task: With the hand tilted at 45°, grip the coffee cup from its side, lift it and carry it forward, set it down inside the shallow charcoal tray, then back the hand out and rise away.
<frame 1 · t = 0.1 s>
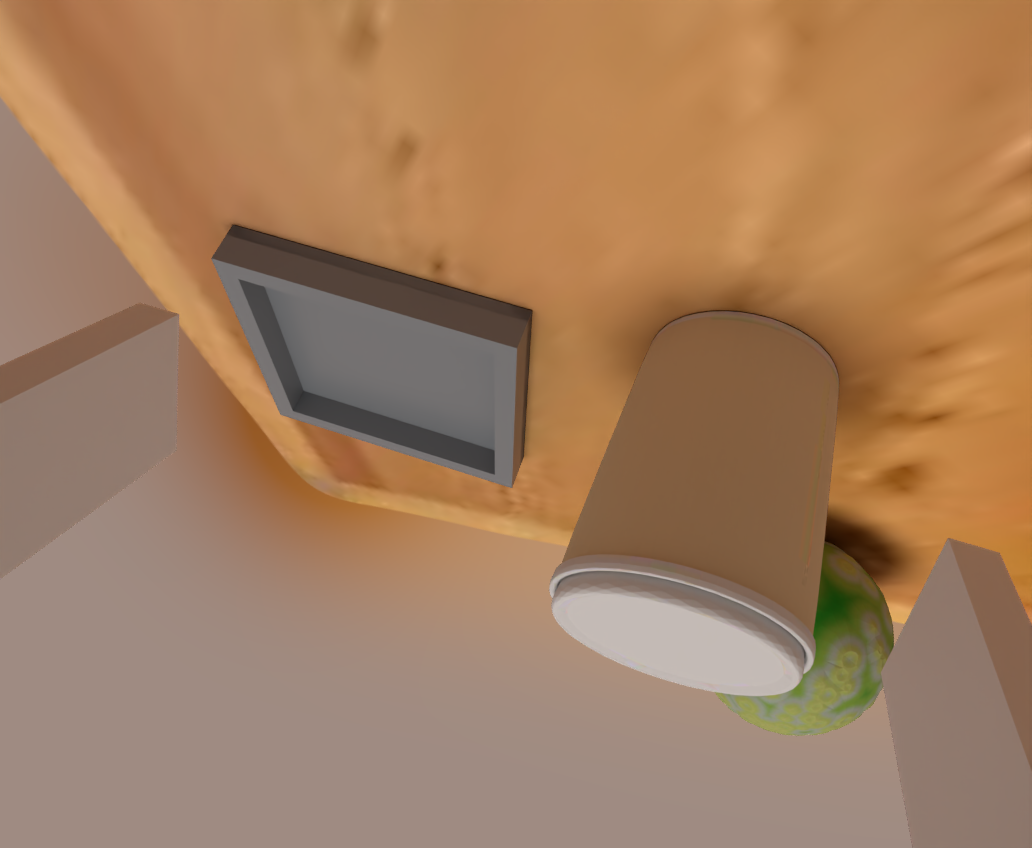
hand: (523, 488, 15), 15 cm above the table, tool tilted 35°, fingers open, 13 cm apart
decorative ball: (806, 541, 48), on the table
coffee cup: (742, 366, 36), on the table
tray: (395, 354, 45), on the table
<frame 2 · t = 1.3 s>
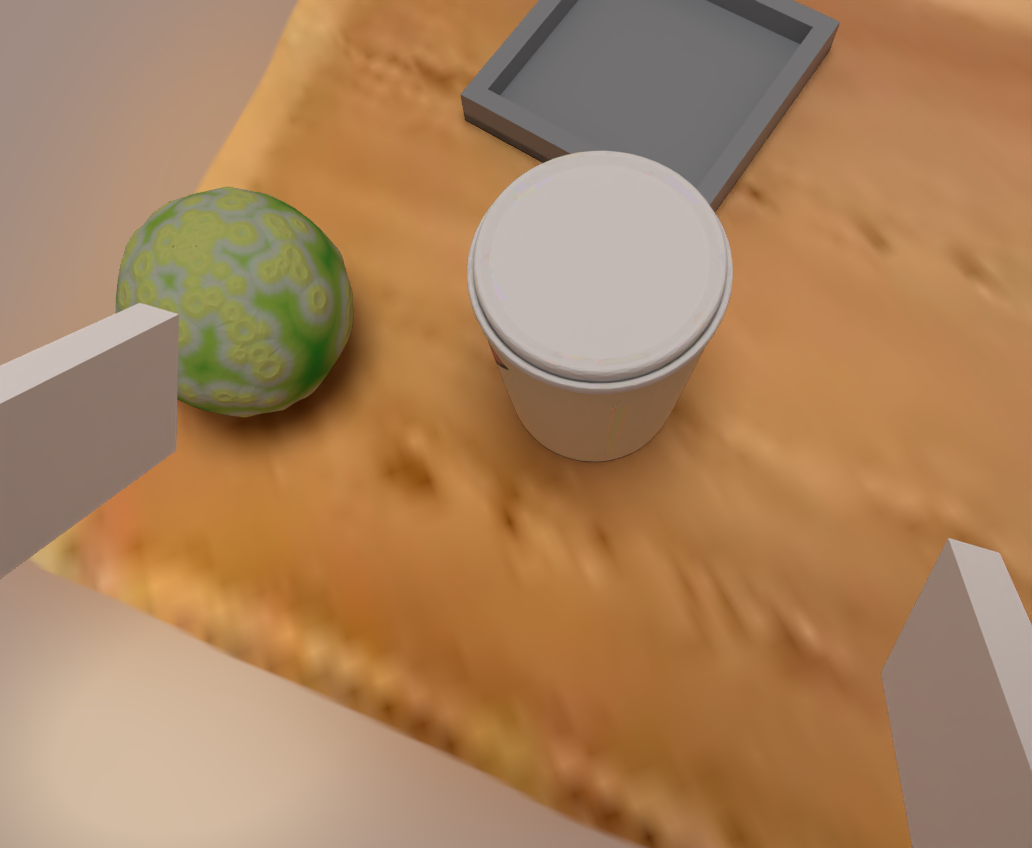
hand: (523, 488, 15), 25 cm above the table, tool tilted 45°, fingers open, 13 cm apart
decorative ball: (276, 351, 44), on the table
coffee cup: (592, 386, 42), on the table
tray: (647, 85, 47), on the table
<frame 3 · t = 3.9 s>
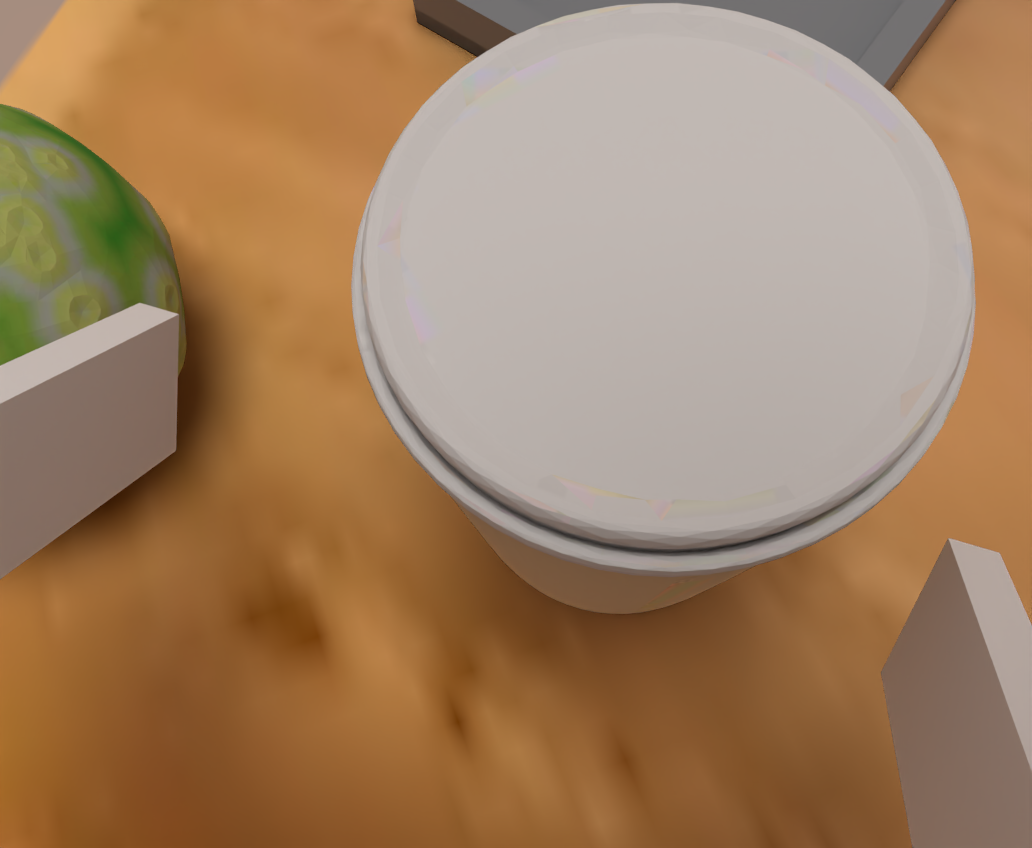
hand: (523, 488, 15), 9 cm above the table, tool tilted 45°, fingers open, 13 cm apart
decorative ball: (77, 391, 26), on the table
coffee cup: (613, 473, 24), on the table
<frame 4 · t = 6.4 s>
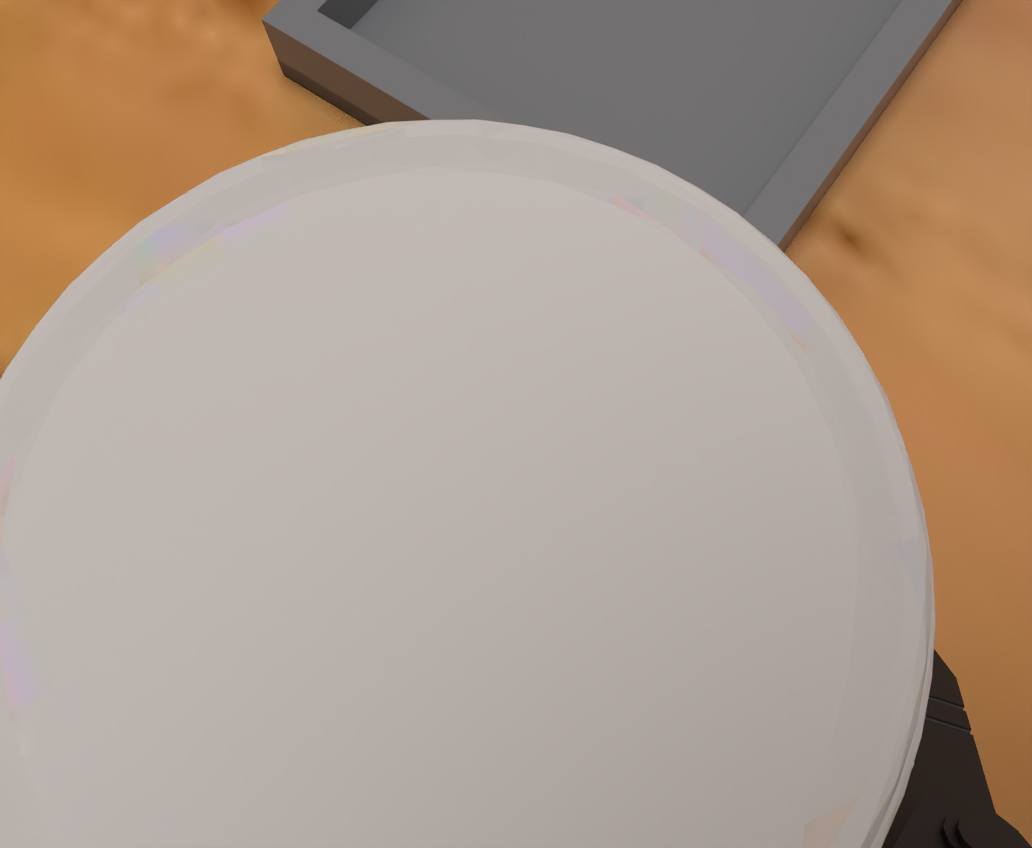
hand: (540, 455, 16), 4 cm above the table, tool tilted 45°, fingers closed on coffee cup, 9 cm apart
coffee cup: (499, 654, 19), on the table, touching gripper
tray: (637, 19, 25), on the table
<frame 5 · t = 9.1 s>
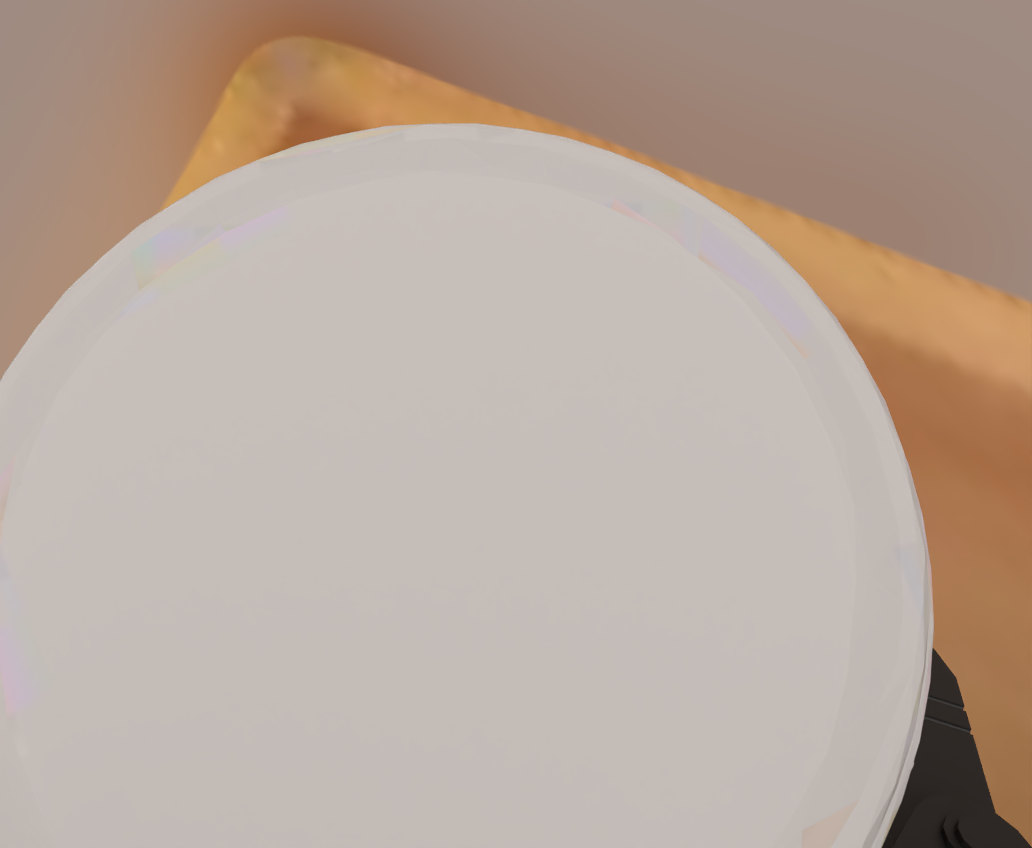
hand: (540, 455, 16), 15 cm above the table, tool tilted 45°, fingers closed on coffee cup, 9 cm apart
coffee cup: (498, 656, 19), point 11 cm above the table, touching gripper
when the fingers open (7 cm above the table, at t = 12.2 s): coffee cup drops 2 cm, resting on tray.
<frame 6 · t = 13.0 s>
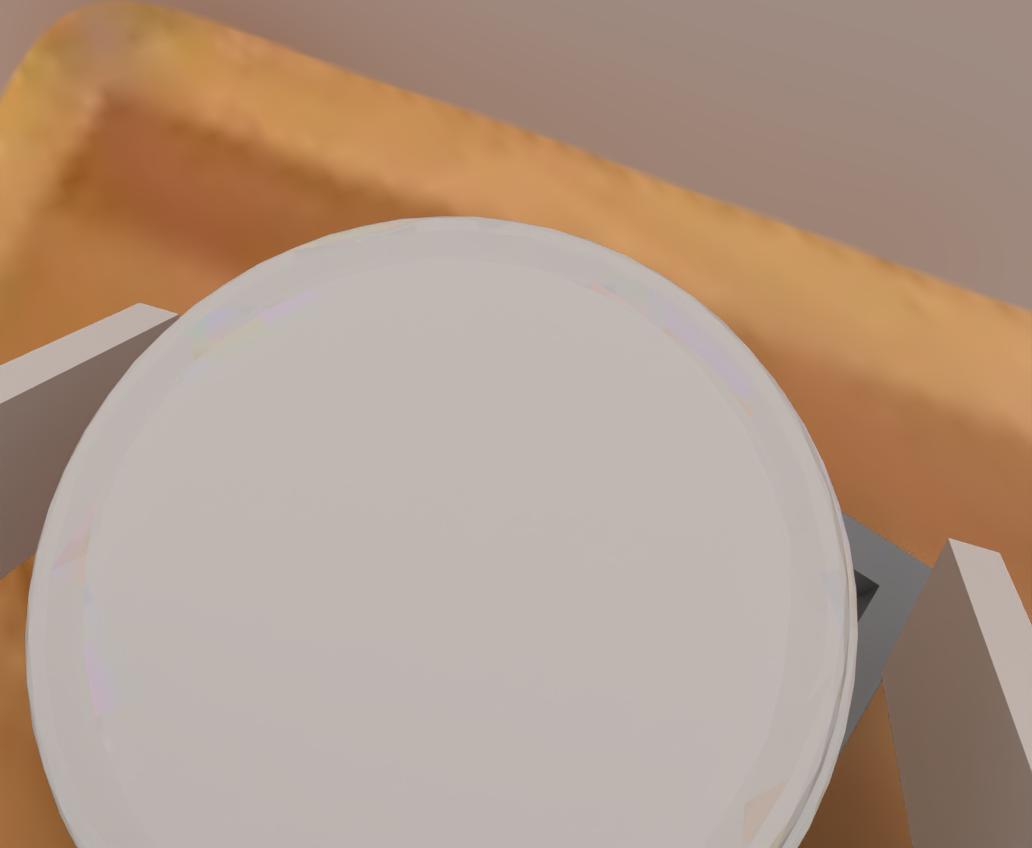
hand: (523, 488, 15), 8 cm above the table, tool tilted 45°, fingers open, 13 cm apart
coffee cup: (496, 670, 21), resting on tray
tray: (505, 657, 21), on the table
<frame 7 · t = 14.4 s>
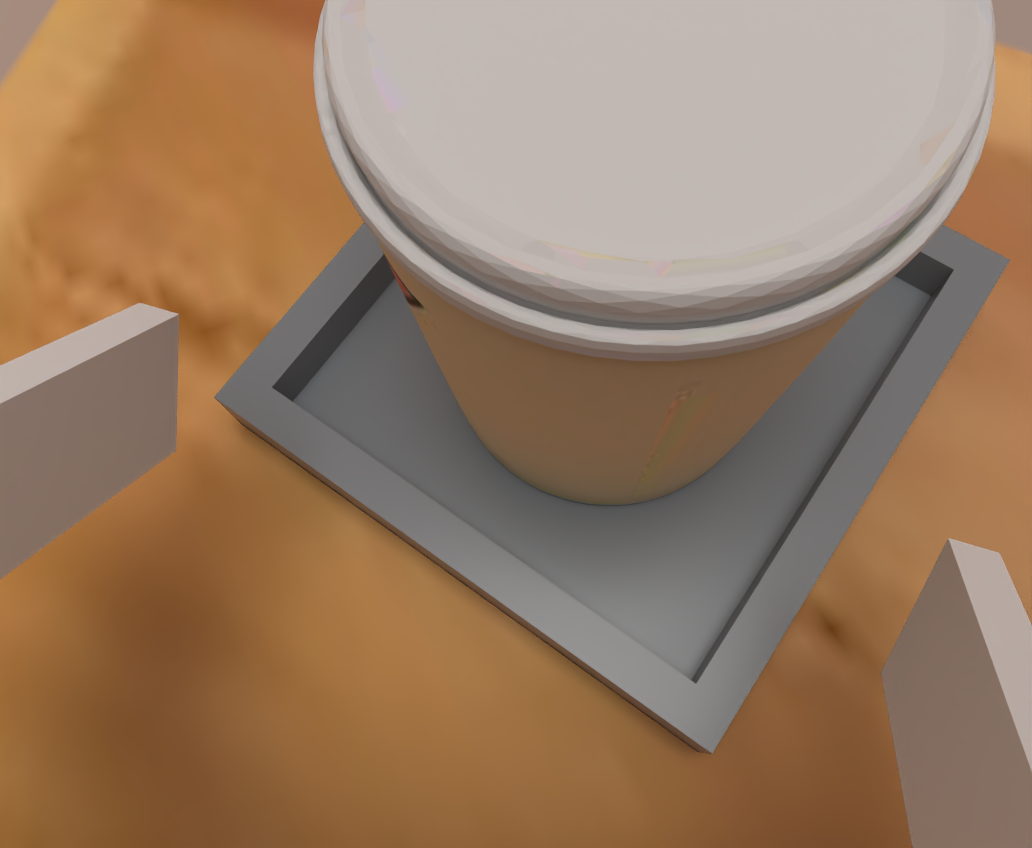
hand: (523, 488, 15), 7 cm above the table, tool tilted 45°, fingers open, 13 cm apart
coffee cup: (604, 365, 23), resting on tray
tray: (610, 360, 24), on the table
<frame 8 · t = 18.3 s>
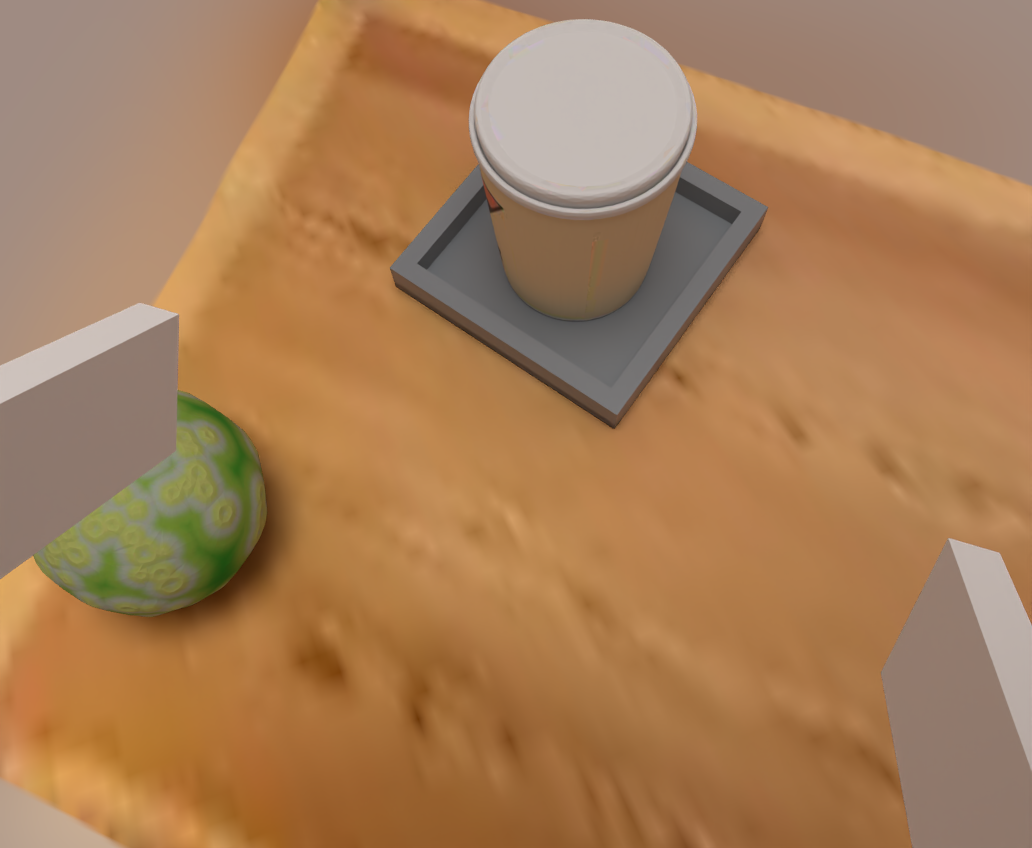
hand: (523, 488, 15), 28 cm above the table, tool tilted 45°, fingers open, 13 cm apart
decorative ball: (195, 526, 44), on the table
coffee cup: (575, 258, 47), resting on tray
tray: (578, 257, 48), on the table
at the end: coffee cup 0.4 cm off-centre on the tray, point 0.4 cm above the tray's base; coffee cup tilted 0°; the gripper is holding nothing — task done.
